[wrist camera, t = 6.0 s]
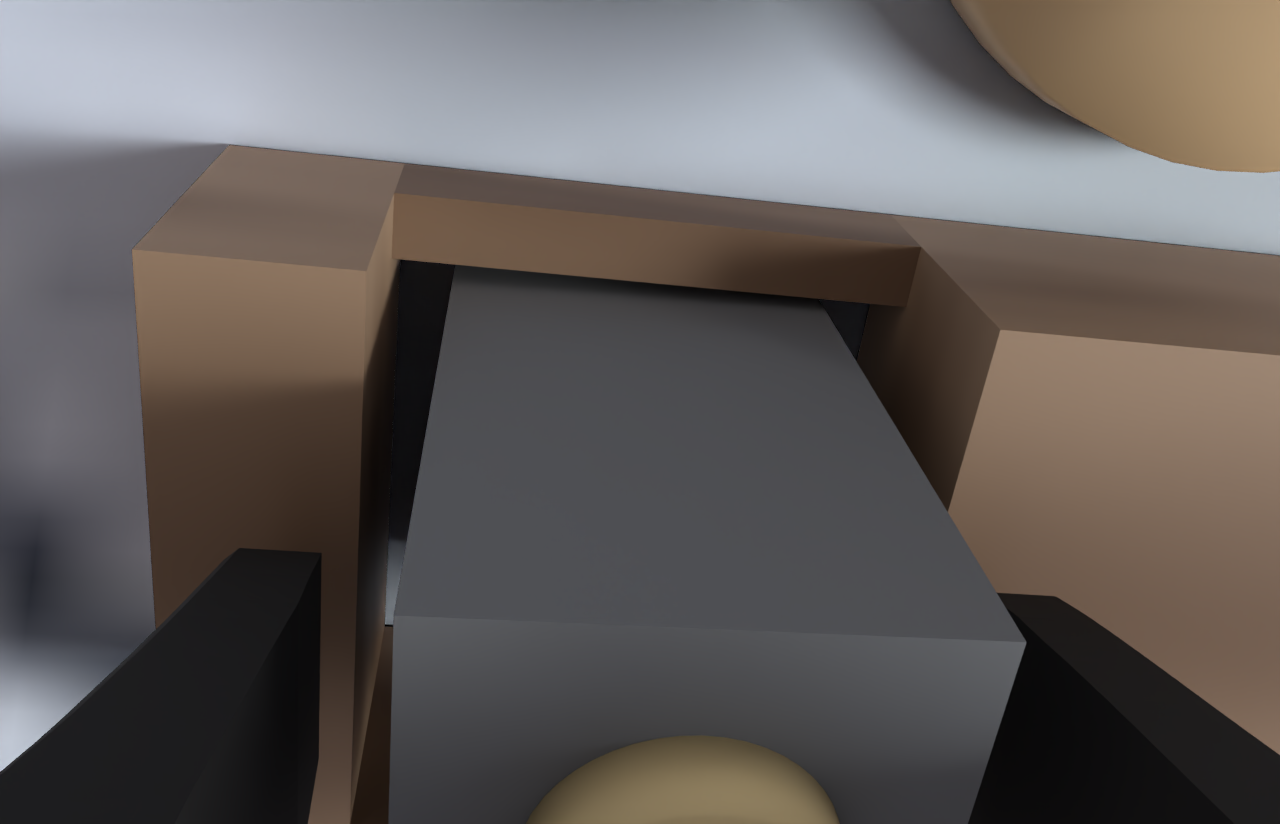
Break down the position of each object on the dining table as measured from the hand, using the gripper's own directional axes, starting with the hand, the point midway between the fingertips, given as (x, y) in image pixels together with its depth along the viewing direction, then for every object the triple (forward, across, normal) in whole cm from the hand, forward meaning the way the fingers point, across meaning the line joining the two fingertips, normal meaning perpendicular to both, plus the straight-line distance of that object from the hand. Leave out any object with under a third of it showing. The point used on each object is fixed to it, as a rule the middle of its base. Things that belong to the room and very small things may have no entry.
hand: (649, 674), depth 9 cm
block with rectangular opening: (+4, -2, 0) cm, 4 cm away
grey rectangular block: (+4, 0, 0) cm, 4 cm away
